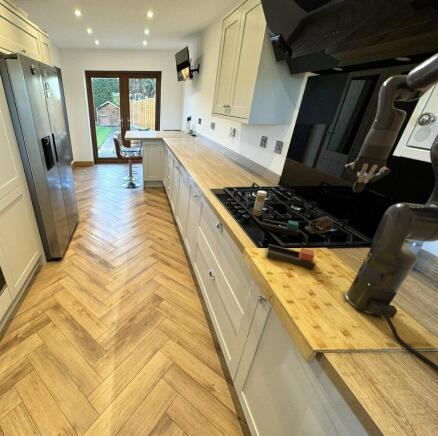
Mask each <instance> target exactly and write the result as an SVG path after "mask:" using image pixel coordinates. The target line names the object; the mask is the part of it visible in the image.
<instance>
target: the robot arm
mask: <svg viewBox="0 0 438 436" xmlns="http://www.w3.org/2000/svg"><path fill="white" fill-rule="evenodd" d="M436 85H438V52H437V53H435V54H433V55H432V56H430V57H428V58H427V59H425V60H424V61H422V62H420V64H418V65H416V66H415V67H413V68H412V69H411V70H410V72H408V74H404V75H403V74H399V75H398V74H397V75H396V74H395V75H392V76H390V77H388V78H387V79H386V80H385V81H384V82H383V83H382V85H381V86H380V89H379V91H378V101H377V109H376V115H375V117H374V120H373V122H372V125H371V127H370V129H369V131H368V133H367V135H366V137H365V139H364V140H363V144H362V147H361V148H360V151H359V153H358V155H357V157H356V158H355V159H354V161H353V162H351V163H346V164H345V165H344V167H345V169H346V172H347V173H348V175H349V177H350V179H351V180H353V181H354V183H353V186H352V190H353V193H361V192H363V191H364V189H365V188H366V185H367V183H374V182H376V181H378V180H380V179H381V178H383V177H385V176H387V175H389V174H390V173H391V169H390V168H388V167H387V166H386V165H387V159H388V157H389V155H390V152H391V151H392V149H393V146H394V144H395V143H396V140H397V137H398V134H399V132H400V130H401V127H402V126H403V123H404V122H405V120H406V116H407V112H406V111H405V110H403V109H399V108H395V105H394V102H413V101H417V100H419V99H421V98H422V97H423V96H424V95H426V93H427V92H428V91H430V90H431V89H432V88H433V87H434V86H436ZM429 159H430V163H431V167H432V171H433V176H434V186H433V190H432V193H431V195H430V196H429V198H428V200H427V202H426V203H425V204H419V203H410V202H396V203H393V204H392V205H391V206H389V207H388V208H387V210H385V212H384V213H383V215H382V217H381V219H380V222H379V224H378V226H377V228H376V231H375V233H374V235H373V238H372V241H371V247H370V249H369V251H368V252H367V254H366V256H365V258H364V260H363V262H362V264H361V266H360V267H359V268H358V271H357V273H356V275H355V277H354V279H353V280H352V282H351V284H350V285H349V288H348V290H347V291H346V293H345V294H344V298H345V300H346V301H347V302H348V303H349V304H350V305H351V306H352V307H353V309H354V310H356V311H359V312H362V313H365V314H367V315H370V316H371V315H372V316H375V317H378V318H382V317H384V319H385V321H386V323H387V324H388V325H389V328H390V330H391V332H392V335H393V337H394V338H395V340H396V341H397V342H398V343H399V344H400V345H401V346H402V347H403V348H405V349H406V350H407V351H409V352H410V353H411V354H412V355H415V356H416V357H417V358H419V359H421V360H423V361H424V362H426V363H427V364H428V365H430V366H431V367H432V368H433V369H435V370H436V371H437V372H438V365H437V364H436V363H435V362H433V360H431V359H429V358H428V357H426V356H425V355H423V354H421V353H420V352H418V351H416V350H415V349H414V348H412V347H411V346H410V345H408V344H407V343H406V342H405V341H404V340H403V339H401V337H400V335H399V334H398V332H397V329H396V327H395V325H394V323H393V322H392V320H391V319H394V317H395V316H396V315H397V313H398V310H397V309H398V308H396V306H395V305H392V304H391V303H392V301H394V299H395V298H396V296H397V292H398V291H399V289H400V288H401V286H402V285H403V284H404V282H405V281H406V279H407V278H408V276H409V274H410V273H411V271H412V270H413V268H414V267H415V265H416V264H417V262H418V260H419V257H418V254H416V253H415V252H414V251H413V250H411V249H409V248H408V247H406V246H404V244H405V242H406V240H411V241H419V242H427V243H428V242H431V243H432V242H437V241H438V133H437V134H436V136H435V138H434V140H433V142H432V144H431V146H430V149H429ZM355 168H356V171H357V174H355V172H354V169H355ZM376 172H377V173H376Z"/></svg>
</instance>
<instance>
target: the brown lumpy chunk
mask: <svg viewBox="0 0 438 436" xmlns="http://www.w3.org/2000/svg"><path fill="white" fill-rule="evenodd" d="M312 223H313V226H314V228H313V227H312V226H311V224H312ZM315 226H318V227H320V228H322V229H323V230H324V231H323V230H321V229H319V228H316V227H315ZM334 228H335V227H334V222H333V220H332V219H331V218H330V217H328V216H322V217H318V218H315V219H313V220H311V221H309V223H308V225H305V226H304V230H305V231H306V232H307V233H309V234H311V235H315V234H316V233H317V234H324V233H327V232H331V231H332V230H333V229H334ZM330 230H331V231H330Z"/></svg>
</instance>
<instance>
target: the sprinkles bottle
mask: <svg viewBox="0 0 438 436" xmlns="http://www.w3.org/2000/svg"><path fill="white" fill-rule="evenodd" d="M267 195H268V192H267V191H265V190H258V191H257V193H256V198H255V201H254V206H253V210H252V215H254V216H256V217H260V216H261V215H262V211H263V209H264V205H265V200H266V197H267ZM253 212H254V213H253Z"/></svg>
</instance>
